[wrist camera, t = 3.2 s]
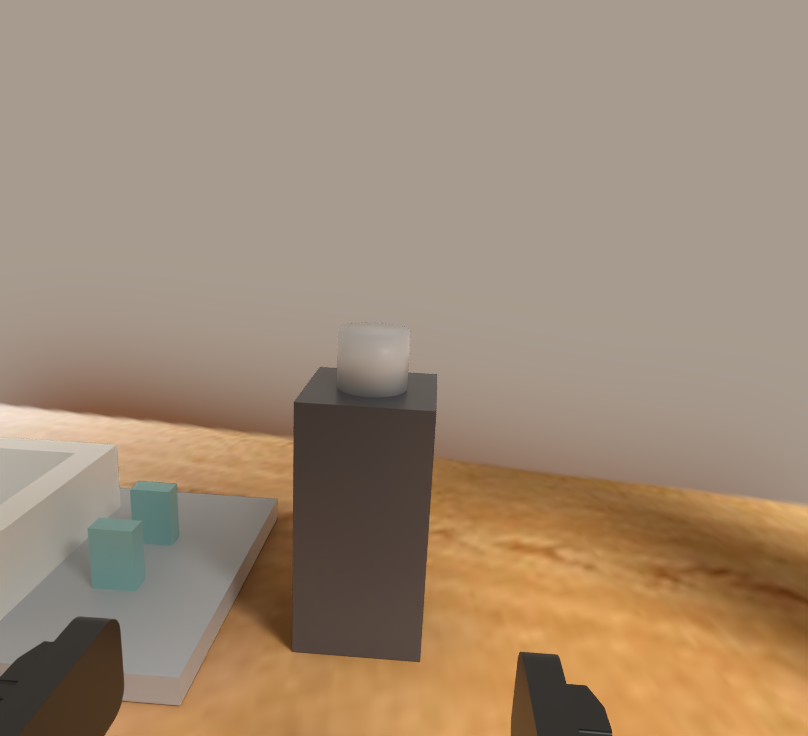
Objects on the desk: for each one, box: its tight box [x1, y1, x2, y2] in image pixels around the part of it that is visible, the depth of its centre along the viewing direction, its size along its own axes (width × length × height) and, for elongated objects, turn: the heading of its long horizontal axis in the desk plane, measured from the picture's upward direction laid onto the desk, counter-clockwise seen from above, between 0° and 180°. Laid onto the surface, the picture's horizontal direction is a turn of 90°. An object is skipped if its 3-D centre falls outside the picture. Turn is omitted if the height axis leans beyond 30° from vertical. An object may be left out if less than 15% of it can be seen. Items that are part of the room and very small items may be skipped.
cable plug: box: [292, 322, 437, 662], centre depth 23 cm, size 4×4×11 cm
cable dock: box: [0, 437, 278, 706], centre depth 25 cm, size 16×12×4 cm
